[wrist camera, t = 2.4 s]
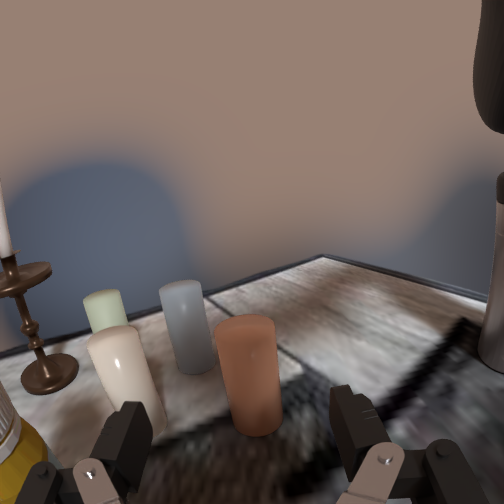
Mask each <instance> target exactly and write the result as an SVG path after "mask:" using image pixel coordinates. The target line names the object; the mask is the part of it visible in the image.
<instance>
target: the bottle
mask: <svg viewBox="0 0 504 504" xmlns="http://www.w3.org/2000/svg"><path fill="white" fill-rule="evenodd" d="M41 461H48V462H51V463H52V464H53V465H54V466H55V467H56V468H57V469H64V467H63V466H62V465H61V463H60V462H59V461H58V460H57V458H56V457H55V455H54V454H53V453H52V451H51V450H50V449H49V447H48V446H47V444H46V443H45V441H44V440H43V439H42V437H41V436H40V435H39V433H38V432H37V431H36V429H35V428H33V427H32V426H31V425H30V424H29V423H28V422H26V421H25V420H24V419H23V418H21V417H20V416H19V414H18V413H17V411H16V409H15V408H14V406H13V405H12V403H11V400H10V398H9V396H8V394H7V392H6V391H5V389H4V387H3V385H2V383H1V381H0V504H14V503H15V501H16V498H17V496H18V494H19V492H20V490H21V488H22V485H23V483H24V481H25V479H26V477H27V475H28V473H29V471H30V469H31V467H32V466H33V465H34V464H36V463H38V462H41Z"/></svg>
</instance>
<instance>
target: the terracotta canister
mask: <svg viewBox="0 0 504 504" xmlns="http://www.w3.org/2000/svg"><path fill="white" fill-rule="evenodd" d="M214 335H215V340H216V345H217V350H218V355H219V360H220V365H221V369H222V374H223V379H224V384H225V388H226V393H227V397H228V402H229V406H230V411H231V415H232V420H233V424H234V427H235V428H236V430H237V431H239V432H240V433H242V434H244V435H247V436H252V437H259V436H265V435H268V434H270V433H272V432H274V431H276V430H277V429H278V428H279V427H280V426H281V424H282V422H283V411H282V399H281V388H280V377H279V366H278V355H277V345H276V334H275V325H274V322H273V321H272V320H271V319H270V318H268V317H265V316H262V315H254V314H247V315H239V316H235V317H231V318H229V319H226V320H224V321H222V322H221V323H220V324H218V325H217V326H216V328H215V330H214Z"/></svg>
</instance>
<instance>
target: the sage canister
mask: <svg viewBox="0 0 504 504" xmlns="http://www.w3.org/2000/svg"><path fill="white" fill-rule="evenodd" d="M83 303H84V306H85V310H86V313H87V316H88V319H89V322H90V325H91V328H92V331H93V334H95V333H97V332H98V331H100V330H103V329H105V328H109V327H112V326H119V325H126V326H129V324H128V321H127V318H126V314H125V311H124V307H123V303H122V300H121V296H120V292H119V291H118V290H116V289H107V290H101V291H98V292H95V293H92V294H90V295H88V296H87V297H86V298H84V300H83Z"/></svg>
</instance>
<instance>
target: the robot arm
mask: <svg viewBox="0 0 504 504" xmlns="http://www.w3.org/2000/svg"><path fill="white" fill-rule="evenodd" d="M473 88H474V97H475V102H476V106H477V109H478V111H479V114H480V116H481V118H482V120H483V121H484V123H485V124H486V125H487V126H488V127H489V128H490V129H492V130H493V131H495V132H499V133H501V134H504V0H482V8H481V19H480V27H479V33H478V39H477V45H476V51H475V58H474V67H473ZM496 189H497V212H496V236H495V248H494V258H493V267H492V275H491V282H490V289H489V295H488V301H487V306H486V312H485V316H484V321H483V326H482V330H481V335H480V339H479V343H478V354H479V356H480V358H481V359H482V360H483V361H484V363H485V364H487V365H488V366H489V367H491V368H493V369H495V370H496V371H499V372H502V373H504V172H503V173H501V174H500V175H499V176H498V178H497V186H496ZM329 419H330V424H331V428H332V431H333V434H334V437H335V440H336V443H337V446H338V450H339V453H340V456H341V459H342V462H343V465H344V468H345V472H346V475H347V478H348V481H349V482H352V483H351V485H350V486H349V488H348V490H347V491H344V492H343V494H342V495H341V496H340V498H339V500H338V501H337V503H336V504H385V503H386V501H387V499H399V498H410V499H411V502H412V504H490V503H489V501H488V499H487V498H486V496H485V494H484V492H483V490H482V488H481V486H480V484H479V482H478V480H477V479H476V477H475V475H474V473H473V471H472V469H471V468H470V466H469V464H468V462H467V460H466V459H465V457H464V455H463V453H462V452H461V450H460V448H459V446H458V445H457V444H456V443H455V442H453V441H451V440H448V439H439V440H436V441H433V442H432V443H431V444H429V446H428V447H427V449H424V450H404V449H402V448H401V447H400V446H398V445H397V444H395V443H392V442H391V440H390V438H389V436H388V434H387V432H386V430H385V428H384V426H383V424H382V422H381V420H380V418H379V417H378V414H377V412H376V410H375V408H374V406H373V404H372V402H371V400H370V399H368V398H367V397H366V396H365V395H363V394H362V393H361V394H356V395H353V392H352V390H351V388H350V386H349V385H348V384H347V385H342V386H337V387H331V389H330V405H329ZM152 439H153V427H152V424H151V422H150V419H149V417H148V414H147V412H146V409H145V407H144V405H143V403H142V402H141V401H124V403H123V405H122V407H121V409H120V411H115V412H114V413H113V414H112V415H111V416H109V417H108V418H107V420H106V423H105V425H104V428H103V429H102V431H101V435H99V438H98V440H97V442H96V444H95V446H94V448H93V451H92V453H91V455H90V457H89V458H87V459H83V460H81V461H79V462H78V463H77V464H76V465H75V466H74V468H70V469H57V468H56V467H55V466H54V465H53V464H52V463H51V462H48V461H41V462H38V463H36V464H34V465H33V466H32V467H31V469H30V471H29V473H28V475H27V477H26V479H25V481H24V483H23V485H22V488H21V490H20V492H19V494H18V496H17V498H16V501H15V503H14V504H130V502H129V501H128V499H127V498H126V497H127V494H128V492H134V493H137V492H138V488H139V485H140V481H141V477H142V474H143V470H144V467H145V463H146V460H147V456H148V453H149V449H150V446H151V442H152Z"/></svg>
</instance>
